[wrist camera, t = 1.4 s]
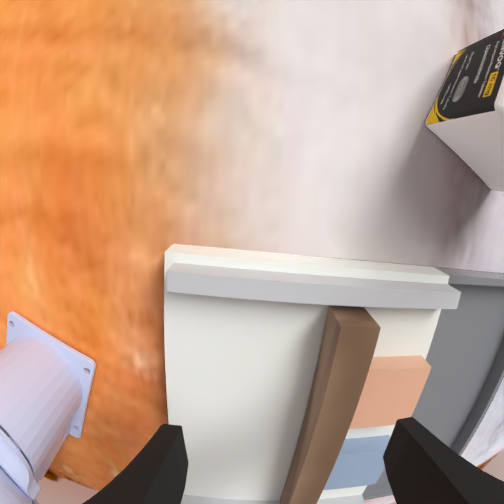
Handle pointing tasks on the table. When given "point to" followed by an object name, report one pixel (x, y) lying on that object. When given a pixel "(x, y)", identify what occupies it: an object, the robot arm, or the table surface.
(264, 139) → the table surface
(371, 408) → the tile
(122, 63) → the table surface
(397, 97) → the table surface
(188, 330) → the white rimmed panel
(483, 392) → the box
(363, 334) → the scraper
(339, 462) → the tile
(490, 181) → the medicine bottle
